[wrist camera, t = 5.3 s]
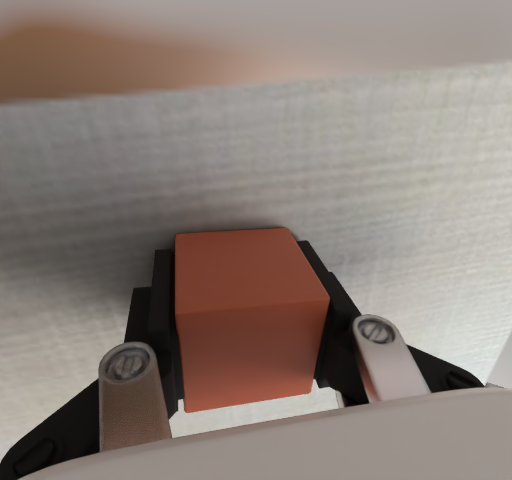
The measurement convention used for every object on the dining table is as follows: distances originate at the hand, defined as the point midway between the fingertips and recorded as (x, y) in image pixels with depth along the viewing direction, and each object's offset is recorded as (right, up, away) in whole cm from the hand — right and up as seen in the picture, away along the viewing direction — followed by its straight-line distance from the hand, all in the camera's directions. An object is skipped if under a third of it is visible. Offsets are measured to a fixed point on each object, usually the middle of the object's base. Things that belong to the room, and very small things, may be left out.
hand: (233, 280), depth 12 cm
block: (0, 0, 0) cm, 0 cm away
